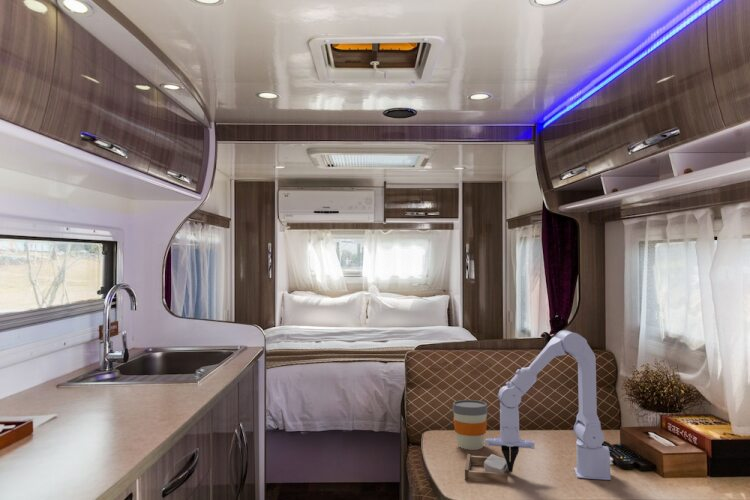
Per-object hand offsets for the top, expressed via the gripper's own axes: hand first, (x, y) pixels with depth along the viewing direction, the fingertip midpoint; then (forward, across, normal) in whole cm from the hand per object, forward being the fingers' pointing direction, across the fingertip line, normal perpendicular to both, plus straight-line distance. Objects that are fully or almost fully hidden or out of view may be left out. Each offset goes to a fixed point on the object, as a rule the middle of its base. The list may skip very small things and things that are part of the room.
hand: (510, 470), depth 170 cm
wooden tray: (+1, -6, 0) cm, 6 cm away
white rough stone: (+1, -4, +1) cm, 5 cm away
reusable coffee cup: (+1, -13, +26) cm, 30 cm away
